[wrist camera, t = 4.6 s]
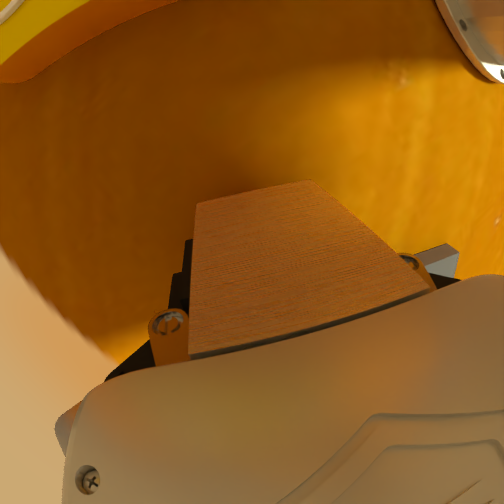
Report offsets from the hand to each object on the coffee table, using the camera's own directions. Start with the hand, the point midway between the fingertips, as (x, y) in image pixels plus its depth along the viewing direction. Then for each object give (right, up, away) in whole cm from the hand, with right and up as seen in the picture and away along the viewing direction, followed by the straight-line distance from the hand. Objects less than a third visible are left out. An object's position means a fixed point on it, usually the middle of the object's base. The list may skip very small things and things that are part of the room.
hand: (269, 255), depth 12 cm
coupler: (0, +1, +1) cm, 1 cm away
